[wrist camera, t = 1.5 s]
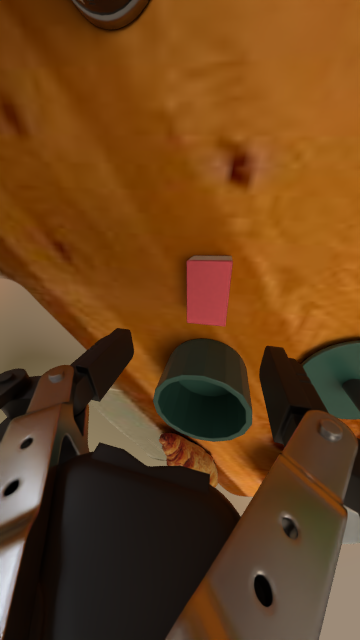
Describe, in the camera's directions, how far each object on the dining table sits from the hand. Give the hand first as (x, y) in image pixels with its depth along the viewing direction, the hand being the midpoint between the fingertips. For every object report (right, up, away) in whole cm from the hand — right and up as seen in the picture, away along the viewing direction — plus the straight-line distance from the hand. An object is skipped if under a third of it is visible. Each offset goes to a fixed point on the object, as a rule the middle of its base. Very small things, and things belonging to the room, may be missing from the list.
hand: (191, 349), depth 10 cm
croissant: (+2, -30, +31) cm, 43 cm away
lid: (+22, -6, +12) cm, 26 cm away
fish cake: (+3, +6, +11) cm, 13 cm away
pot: (+4, -7, +18) cm, 19 cm away
